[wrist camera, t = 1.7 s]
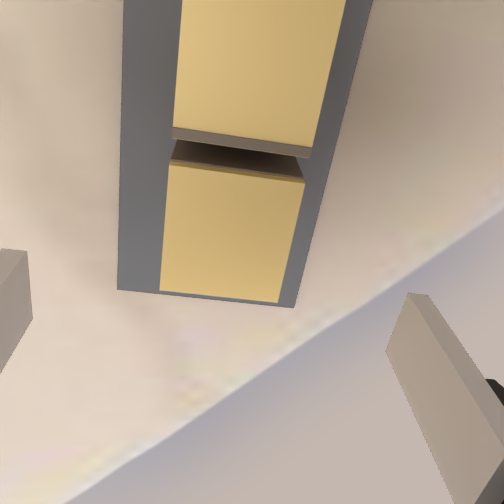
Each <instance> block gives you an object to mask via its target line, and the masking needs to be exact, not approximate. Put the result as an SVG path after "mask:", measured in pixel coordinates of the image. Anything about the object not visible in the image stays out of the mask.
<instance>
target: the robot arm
mask: <svg viewBox="0 0 504 504" xmlns="http://www.w3.org/2000/svg"><path fill="white" fill-rule="evenodd" d="M32 319H33V316H32V304H31V292H30V280H29V268H28V256H27V251H21V250H12V249H3V248H2V249H1V250H0V373H1V372H2V370H3V368H4V367H5V365H6V363H7V362H8V360H9V358H10V356H11V355H12V353H13V351H14V350H15V348H16V346H17V345H18V343H19V341H20V339H21V338H22V336H23V334H24V333H25V331H26V329H27V328H28V326H29V324H30V323H31V321H32ZM386 354H387V356H388V358H389V361H390V363H391V365H392V367H393V369H394V372H395V374H396V376H397V378H398V380H399V383H400V385H401V387H402V389H403V391H404V394H405V396H406V398H407V400H408V402H409V405H410V407H411V409H412V411H413V413H414V415H415V418H416V420H417V422H418V424H419V427H420V429H421V431H422V433H423V436H424V438H425V440H426V442H427V444H428V447H429V449H430V451H431V453H432V455H433V458H434V460H435V462H436V464H437V466H438V469H439V470H440V473H441V475H442V477H443V480H444V482H445V484H446V486H447V488H448V491H449V493H450V495H451V497H452V499H453V501H454V504H504V388H503V387H502V386H501V385H500V384H499V383H498V382H497V381H495V380H493V379H485V378H484V377H483V375H482V374H481V372H480V371H479V369H478V368H477V366H476V365H475V364H474V362H473V361H472V359H471V358H470V356H469V355H468V353H467V352H466V351H465V349H464V347H463V346H462V344H461V343H460V341H459V340H458V338H457V337H456V336H455V334H454V333H453V331H452V330H451V328H450V327H449V325H448V324H447V322H446V321H445V319H444V318H443V316H442V315H441V313H440V312H439V310H438V309H437V308H436V306H435V305H434V303H433V302H432V301H431V299H430V298H429V296H428V295H423V294H413V293H408V294H407V297H406V299H405V302H404V305H403V307H402V310H401V312H400V315H399V318H398V320H397V322H396V325H395V328H394V330H393V333H392V335H391V338H390V340H389V343H388V345H387V348H386Z"/></svg>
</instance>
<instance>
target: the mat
mask: <svg viewBox="0 0 504 504" xmlns="http://www.w3.org/2000/svg"><path fill="white" fill-rule="evenodd" d="M182 1H183V0H124V11H123V55H122V99H121V143H120V186H119V230H118V274H117V290H126V291H135V292H145V293H154V294H164V295H173V296H183V297H192V298H202V299H211V300H221V301H230V302H239V303H249V304H258V305H268V306H277V307H287V308H294V306H295V302H296V298H297V294H298V290H299V286H300V283H301V279H302V275H303V271H304V267H305V263H306V259H307V255H308V251H309V247H310V243H311V240H312V236H313V232H314V228H315V224H316V220H317V216H318V212H319V208H320V204H321V200H322V197H323V193H324V189H325V185H326V181H327V177H328V173H329V169H330V165H331V161H332V158H333V154H334V150H335V146H336V142H337V138H338V134H339V130H340V126H341V122H342V118H343V115H344V111H345V107H346V103H347V99H348V95H349V91H350V87H351V83H352V79H353V75H354V72H355V68H356V64H357V60H358V56H359V52H360V48H361V44H362V40H363V36H364V32H365V29H366V25H367V21H368V17H369V13H370V9H371V5H372V1H373V0H346V3H345V7H344V11H343V16H342V20H341V24H340V29H339V33H338V37H337V41H336V46H335V50H334V54H333V59H332V63H331V67H330V72H329V76H328V80H327V85H326V89H325V93H324V98H323V102H322V106H321V111H320V115H319V119H318V124H317V128H316V132H315V137H314V141H313V145H312V153H311V157H310V158H304V157H297V156H295V157H296V159H297V162H298V164H299V167H300V169H301V172H302V174H303V177H304V182H305V187H304V192H303V196H302V200H301V204H300V209H299V213H298V217H297V222H296V226H295V230H294V235H293V239H292V243H291V247H290V252H289V256H288V260H287V265H286V269H285V273H284V278H283V282H282V286H281V290H280V295H279V299H278V303H274V302H264V301H255V300H246V299H236V298H227V297H217V296H208V295H199V294H189V293H180V292H171V291H161V290H159V289H160V276H161V263H162V250H163V237H164V224H165V211H166V198H167V186H168V173H169V164H170V161H171V156H172V153H173V150H174V148H175V145H176V142H177V139H174V138H172V127H173V117H174V104H175V91H176V78H177V65H178V52H179V40H180V27H181V14H182Z"/></svg>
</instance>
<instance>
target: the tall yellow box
mask: <svg viewBox="0 0 504 504" xmlns="http://www.w3.org/2000/svg"><path fill="white" fill-rule="evenodd" d="M345 3H346V0H183V1H182V14H181V27H180V40H179V52H178V65H177V78H176V91H175V104H174V117H173V127H172V138H174V139H181V140H187V141H194V142H201V143H208V144H215V145H222V146H228V147H235V148H242V149H249V150H256V151H263V152H270V153H276V154H283V155H290V156H297V157H304V158H310V157H311V153H312V145H313V141H314V137H315V132H316V128H317V124H318V119H319V115H320V111H321V106H322V102H323V98H324V93H325V89H326V85H327V80H328V76H329V72H330V67H331V63H332V59H333V54H334V50H335V46H336V41H337V37H338V33H339V29H340V24H341V20H342V16H343V11H344V7H345Z"/></svg>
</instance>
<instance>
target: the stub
mask: <svg viewBox="0 0 504 504" xmlns="http://www.w3.org/2000/svg"><path fill="white" fill-rule="evenodd" d="M304 187H305V182H304V177H303V174H302V172H301V169H300V167H299V164H298V162H297V159H296V157H295V156H290V155H283V154H276V153H270V152H263V151H256V150H249V149H242V148H235V147H228V146H222V145H215V144H208V143H201V142H194V141H187V140H181V139H177V142H176V145H175V148H174V150H173V153H172V156H171V161H170V164H169V173H168V186H167V198H166V211H165V224H164V237H163V250H162V263H161V276H160V289H159V290H161V291H171V292H180V293H189V294H199V295H208V296H217V297H227V298H236V299H246V300H255V301H264V302H274V303H278V299H279V295H280V290H281V286H282V282H283V278H284V273H285V269H286V265H287V260H288V256H289V252H290V247H291V243H292V239H293V235H294V230H295V226H296V222H297V217H298V213H299V209H300V204H301V200H302V196H303V192H304Z"/></svg>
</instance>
